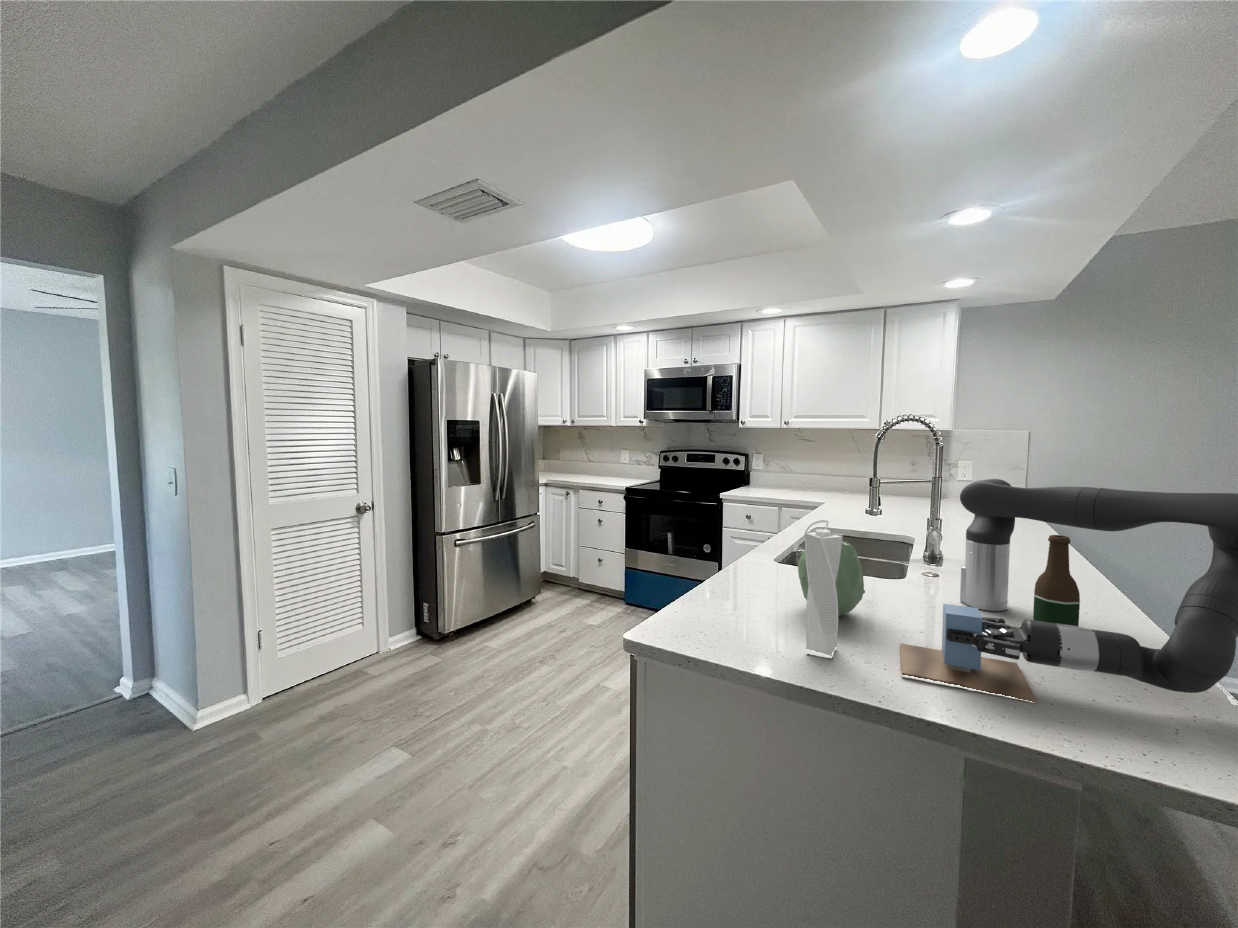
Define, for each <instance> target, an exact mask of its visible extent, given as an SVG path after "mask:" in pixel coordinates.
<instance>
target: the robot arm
mask: <svg viewBox="0 0 1238 928" xmlns="http://www.w3.org/2000/svg"><path fill="white" fill-rule="evenodd" d="M959 501H960V503H961V504H962V507H964V509H965V510H967V511H968V512H969V513H972V514H973V515H974V517H973V520H972V522H971V524H970V525H969V526H968V527H967V529H966V532H965V551H964V552H965V554H964V555H965V556H964V561H965V562H964V566H963V565H962V566H961V568H960V587H959V589H960V592H959V593H960V594H959V602H960V603H964V604H965V605H967V606H968V607H974V608H978V610H982V611H990V612H1003V611H1007V609H1008V603H1009V597H1008V596H1009V579H1010V578H1009V576H1010V575H1009V574H1010V572H1009V571H1010V555H1011V553H1010V549H1011V547H1010V546H1011V537H1012V534H1013V533H1014V530H1015V526H1016V525H1015V524H1016V518H1017V519H1018V518H1019V519H1027V520H1033V521H1038V522H1044V523H1048V524H1049V523H1050V524H1055V525H1061V526H1065V527H1066V526H1067V527H1072V528H1079V529H1087V530H1092V531H1093V530H1094V531H1101V532H1120V531H1121V532H1122V531H1127V530H1132V529H1135V528H1140V527H1143V526H1146V525H1147V526H1148V525H1152V524H1157V523H1181V524H1191V525H1200V526H1205V527H1207V530H1208V534H1209V535H1208V536H1209V538H1210V540H1211V541H1212V558H1211V563H1210V566H1209V567H1208V569H1207V571H1206V572H1205V573H1204V575H1202V576H1201V577H1199V578H1198V579H1196V580H1195V581H1194V582H1193V583H1192V584H1191V585H1190V586H1189V588H1188V589H1187V590H1186V593H1185V594H1184V596H1183V598H1182V600H1181V602H1180V603H1179V604H1180V605H1179V607H1178V608H1177V611H1176V614H1175V617H1174V625H1175V626H1174V629H1173V631H1172V632H1171V635H1170V636H1169V638H1168V640H1167V641H1166V643H1164V645H1163V646H1162V647H1161V648H1158V649H1156V648H1152V647H1151V648H1150V647H1147V646H1142V645H1140V642H1138V640H1137V639H1135V638H1134V637H1133V636H1131V635H1129V634H1125V633H1120V632H1114V631H1107V630H1099V629H1091V628H1086V627H1085V628H1084V627H1081V626H1079V627H1078V626H1073V625H1066V624H1058V623H1050V622H1043V621H1035V620H1033V619H1024V620H1023V621H1022V622H1021V626H1020V627H1017V626H1013V625H1010V624H1008V623H1006V619H1005V618H1002V617H1001V618H1000V617H986V616H982V633H979V632H972V634H971V632H969V631H962V630H955V629H948V630H947V639H948V641H952V642H958V643H965V644H972V646H973V647H977V650H978V651H980V652H981V653H985V654H990V655H993V656H998V657H1003V658H1008V659H1012V660H1020V655H1021V653H1022V657H1023V658H1024V660H1025V661H1026V662H1028V663H1032V664H1036V665H1037V664H1038V665H1044V666H1048V667H1049V666H1050V667H1056V668H1063V669H1067V670H1068V669H1070V670H1075V671H1089V672H1096V673H1103V674H1110V675H1113V676H1114V675H1116V676H1124V677H1128V678H1129V679H1130V678H1131V679H1134V680H1137V681H1138V682H1141V683H1144V684H1148V685H1152V686H1155V687H1157V688H1161V689H1165V690H1168V691H1172V692H1178V693H1186V694H1188V693H1189V694H1193V693H1194V694H1197V693H1204V692H1206V691H1209V689H1211V688H1212V687H1214V685H1216V684H1217V683H1218V682H1220V681H1222V679H1224V678H1225V677H1226V676H1227V675H1228V673H1229V671H1230V670H1231V668H1232V666H1233V663H1234V661H1235V657H1236V647H1237V638H1238V493H1236V492H1235V493H1234V492H1233V493H1232V492H1231V493H1230V492H1161V491H1160V492H1159V491H1143V490H1142V491H1141V490H1127V489H1126V490H1124V489H1116V488H1108V487H1107V488H1104V487H1103V488H1102V487H1093V486H1091V487H1090V486H1049V487H1048V486H1047V487H1019V486H1012V485H1011V484H1010V483H1009V482H1007V481H1006V480H1003V479H999V478H988V479H981V480H974V481H973V482H970V483H969V484H967V485H966V486H965V487H963V489H962V490H961V492H960V494H959Z"/></svg>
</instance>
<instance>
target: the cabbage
mask: <svg viewBox="0 0 1238 928" xmlns="http://www.w3.org/2000/svg"><path fill="white" fill-rule="evenodd" d="M799 554H800V555H801V556H800V558H799V560H798V564H797V570H798V572H797V573H798V579H799V583H800V586H801V591H802V594H803V597H804V599H805V601H807V595H808V586H809V583H808V577H807V569H806V556H805V549H804V550H803V552H799ZM864 581H865V580H864V570H862V562H861V561H860V559H859V556H858V553H857V551H856V550H855V547H853V544H851V543H849V541H843V540H842V546H841V555H840V562H839V568H838V573H837V578H836V582H835V585H836V591H837V600H838V617H840V616H844V615H846V614H848V613H850V612H851V611H853V610H854V609H855V608H856V607H857V605H858V604H859V603H860V602H861V601H862V599H863V596H864V594H865V593H866V590H865V582H864Z"/></svg>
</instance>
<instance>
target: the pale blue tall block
mask: <svg viewBox="0 0 1238 928" xmlns="http://www.w3.org/2000/svg"><path fill="white" fill-rule="evenodd" d="M979 610H980V609H978V608H974V607H971V606H964V605H959V604H958V605H955V604H950V603H943V604H942V629H941V630H942V632H941V634H942V635H941V636H942V637H941V638H942V639H941V650H942V655H943V659H944V663H945V664H948V665H953V666H959V667H965V668H970V669H976V670H981V657H982V652H980V651H978V650H977V647H973V646H972V644H965V643H958V642H952V641H948V639H947V630H948V629H955V630H962V631H969V632H971V634H972V632H979V633H982V617H983V616H982V615H981V612H980V611H979Z"/></svg>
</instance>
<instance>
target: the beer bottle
mask: <svg viewBox="0 0 1238 928" xmlns="http://www.w3.org/2000/svg"><path fill="white" fill-rule="evenodd" d="M1047 541H1048V542H1049V546H1048V553H1047V560H1046V561H1047V562H1046V567H1045V569H1044V571H1043V573H1041V574H1040V575H1039V576H1038V578H1037V579H1036V581H1035V583H1034V591H1033V593H1034V596H1033V609H1032V610H1033V611H1032V613H1033V617H1032V620H1035V621H1043V622H1050V623H1058V624H1066V625H1073V626H1078V627H1080V626H1079V623H1080V604H1081V596H1080V594H1081V593H1080V589H1079V587H1078V584H1077V582H1076V580H1075V579H1074V578H1073V576H1072V575H1071V572H1070V550H1069V549H1070V545H1069V544H1071V539H1070V537H1069V536H1065V535H1060V534H1050V535H1049V536H1048V538H1047Z"/></svg>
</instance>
